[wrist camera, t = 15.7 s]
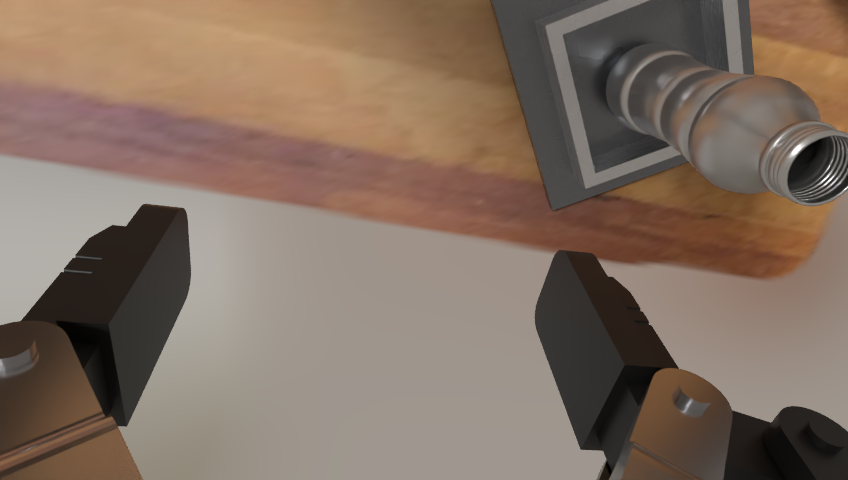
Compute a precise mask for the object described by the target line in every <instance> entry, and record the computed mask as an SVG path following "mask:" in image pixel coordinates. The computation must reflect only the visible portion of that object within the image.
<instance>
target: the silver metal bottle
mask: <svg viewBox="0 0 848 480" xmlns="http://www.w3.org/2000/svg"><path fill="white" fill-rule="evenodd" d="M606 98H607V103H608V105H609V107H610V109H611V111H612V112H613V114H614V115H615V116H616V118H617V119H618V120H619V122H621V123H622V124H623V125H624V126H625V127H627V128H629V129H631V130H634V131H637V132H639V133H643V134H647V135H652V136H654V137H656V138H659V139H661V140H663V141H665V142H667V143H668V144H669V145H671V146H672V147H673V148H674V149H676V150H677V151H678V152H680V153H681V154H682V155H683V156H684V157H685V158H686V160H687V161H688V162H689V163H690V164H691V165H692V166H693V167H694V168H695V169H696V170H697V171H698V173H699V174H701V175H702V176H703V177H704V178H705V179H706V180H708V181H709V182H710V183H711V184H712V185H714V186H716V187H718V188H720V189H723V190H727V191H731V192H736V193H742V194H756V193H763V192H767V191H772V192H773V193H775V194H777V195H779V196H782V197H786V198H788V199H789V200H791V201H793V202H795V203H797V204H801V205H805V206H818V205H823V204H826V203H829V202H831V201H833V200H835V199H837V198H838V197H840V196H841V195H843V194H844V193H845V192H846V191H847V190H848V134H847V133H845V132H842V131H839V130H836V129H835V128H834V127H833V126H831V125H829V124H827V123H824V122H821V119H820V115H819V111H818V108H817V107H816V105H815V103H814V101H813V100H812V99H811V98H810V97H809V96H808V95H807V94H806V93H805V92H804V91H803V90H802V89H801V88H800V87H798V86H797V85H795V84H793V83H792V82H790V81H787V80H784V79H780V78H775V77H770V76H760V75H748V74H735V73H730V72H726V71H722V70H717V69H713V68H711V67H709V66H707V65H705V64H703V63H701V62H699V61H697V60H696V59H695V58H694V57H693V56H692V55H690V54H689V53H687V52H686V51H684V50H682V49H681V48H679V47H677V46H675V45H671V44H666V43H652V44H644V45H641V46H638V47H635V48H633V49H631V50H630V51H628V52H626V53H625V54H624V55H623V56H622V57H620V59H619V60H618V61H617V62H616V63H615V64H614V66H613V68H612V70H611V71H610V74H609V76H608V79H607V84H606Z"/></svg>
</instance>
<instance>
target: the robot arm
mask: <svg viewBox="0 0 848 480" xmlns="http://www.w3.org/2000/svg"><path fill="white" fill-rule="evenodd" d="M190 278H191V265H190V250H189V235H188V220H187V213H186V211H185V209H184V208H178V207H169V206H159V205H151V204H143V205H142V206H141V207H140V208H139V210H138V211H137V212H136V214H135V215H134V216H133V218H132V219H131V221H130V222H129V223H128V225H127V226H115V225H112V226H110V227H108V228H107V229H105V230H103V231H101V232H99V233H98V234H96V235H94V236H92V237H91V238H89V239H88V241H87V242H86V243H85V244H84V246H83V247H82V248H81V249H80V250H79V251H78V253H77V254H76V257H75V258H73V259H72V260H71V261H70V262H69V264H68V265H67V266H66V267H65V268H64V272H61V273H60V274H59V276H58V277H57V278H56V279H55V280H54V282H53V283H52V284H51V285H50V286H49V288H48V289H47V290H46V291H45V293H44V294H43V295H42V296H41V298H40V299H39V300H38V301H37V302H36V303H35V305H34V306H33V307H32V308H31V310H30V311H29V312H28V313H27V315H26V316H25V317H24V318H23V319H22V320H21V321H19V322H12V323H8V324H4V325H0V480H143V479H142V477H141V475H140V473H139V471H138V469H137V466H136V464H135V462H134V460H133V458H132V456H131V454H130V452H129V450H128V447H127V445H126V443H125V441H124V439H123V437H122V435H121V432H120V430H119V428H118V426H127V425H128V423H129V420H130V418H131V416H132V414H133V412H134V410H135V408H136V406H137V404H138V401H139V399H140V397H141V395H142V393H143V390H144V388H145V386H146V384H147V382H148V380H149V378H150V376H151V373H152V371H153V369H154V367H155V365H156V363H157V360H158V358H159V356H160V354H161V352H162V350H163V347H164V345H165V343H166V341H167V339H168V337H169V335H170V332H171V330H172V328H173V326H174V324H175V322H176V319H177V317H178V315H179V313H180V311H181V309H182V307H183V305H184V302H185V300H186V298H187V294H188V291H189V286H190ZM535 325H536V329H537V332H538V335H539V338H540V341H541V343H542V346H543V349H544V351H545V354H546V357H547V360H548V362H549V365H550V368H551V370H552V373H553V376H554V378H555V381H556V384H557V387H558V389H559V392H560V395H561V397H562V400H563V403H564V405H565V408H566V411H567V414H568V416H569V419H570V422H571V425H572V427H573V430H574V433H575V436H576V438H577V441H578V444H579V446H580V449H581V450H602V451H604V454H605V457H606V461H605V463H604V465H603V466H602V468H601V470H600V472H599V475H598V478H597V480H848V432H847V431H846V430H845V429H844V428H842V427H841V426H840V425H839V424H837V423H836V422H834V421H833V420H831V419H829V418H828V417H826V416H824V415H822V414H820V413H818V412H815V411H813V410H810V409H807V408H803V407H796V406H791V407H786V408H784V409H782V410H781V411H780V413H779V414H778V415H777V416H776V418H775V419H774V420H773V422H772V423H770V422H767V421H763V420H760V419H757V418H754V417H751V416H748V415H745V414H742V413H738V412H735V411H732V409H731V407H730V404H729V402H728V401H727V399H726V398H725V397H724V395H723V394H722V393H721V392H720V391H719V390H718V389H717V388H716V387H714V386H713V385H712V384H711V383H709V382H708V381H706V380H705V379H703V378H701V377H700V376H698V375H696V374H693V373H691V372H688V371H685V370H682V369H679V368H678V366H677V365H676V363H675V362H674V360H673V359H672V357H671V356H670V354H669V353H668V351H667V349H666V348H665V346H664V345H663V343H662V342H661V340H660V338H659V337H658V335H657V334H656V332H655V331H654V329H653V327H652V326H651V325H649V321H648V319H647V318H646V316H645V315H644V313H643V312H641V311H640V307H639V306H638V304H637V302H636V301H635V299H634V298H633V296H632V294H631V293H630V292H629V291H628V290H627V289H626V288H625V287H623V286H622V285H621V284H620V283H619V282H618V281H617V280H615V279H614V278H613V277H608V276H607V275H606V273H605V272H604V270H603V268H602V266H601V265H600V263H599V261H598V260H597V258H596V257H595V255H594V254H592V253H584V252H575V251H565V250H559V251H558V252H557V253H556V254H555V256H554V258H553V261H552V263H551V266H550V269H549V271H548V274H547V277H546V279H545V282H544V285H543V288H542V290H541V293H540V296H539V298H538V301H537V305H536V310H535Z"/></svg>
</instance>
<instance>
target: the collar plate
mask: <svg viewBox="0 0 848 480" xmlns="http://www.w3.org/2000/svg"><path fill="white" fill-rule="evenodd" d="M490 1H491V5H492V8H493V12H494V15H495V19H496V22H497V26H498V29H499V33H500V36H501V40H502V43H503V46H504V50H505V53H506V57H507V60H508V64H509V67H510V71H511V74H512V78H513V81H514V85H515V88H516V92H517V95H518V99H519V102H520V106H521V109H522V112H523V116H524V119H525V123H526V126H527V130H528V133H529V137H530V140H531V144H532V147H533V151H534V154H535V158H536V161H537V165H538V168H539V171H540V175H541V178H542V182H543V185H544V189H545V192H546V196H547V199H548V203H549V206H550V208H551V209H552V211H553V210H556V209H559V208H562V207H564V206H567V205H570V204H573V203H575V202H578V201H581V200H584V199H586V198H589V197H592V196H595V195H598V194H600V193H603V192H606V191H609V190H611V189H614V188H617V187H620V186H622V185H625V184H628V183H631V182H634V181H636V180H639V179H642V178H645V177H647V176H650V175H653V174H656V173H659V172H661V171H664V170H667V169H670V168H672V167H675V166H678V165H681V164H683V163H686V162H688V161H687V160H686V158H685V157H684V156H683V155H682V154H681V153H680V152H678V151H677V150H676V149H674V148H673V147H672V146H671V145H669V144H668V143H667V142H665V141H663V140H661V139H659V138H656V137H654V136H652V135H647V134H643V133H639V132H637V131H634V130H631V129H629V128H627V127H625V126H624V125H623V124H622V123H621V122H619V120H618V119H617V118H616V116H615V115H614V114H613V112H612V111H611V109H610V107H609V105H608V103H607V98H606V84H607V79H608V76H609V74H610V71H611V70H612V68H613V66H614V64H615V63H616V62H617V61H618V60H619V59H620V57H622V56H623V55H624V54H625V53H626V52H628V51H630V50H631V49H633V48H635V47H638V46H641V45H644V44H652V43H666V44H671V45H675V46H677V47H679V48H681V49H682V50H684V51H686V52H687V53H689V54H690V55H692V56H693V57H694V58H695V59H696V60H697V61H699V62H701V63H703V64H705V65H707V66H709V67H711V68H713V69H717V70H722V71H726V72H730V73H735V74H748V75H754V66H753V53H752V39H751V26H750V12H749V0H490Z"/></svg>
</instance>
